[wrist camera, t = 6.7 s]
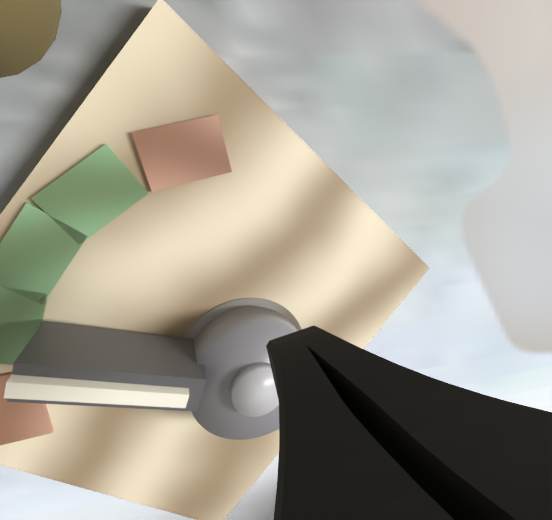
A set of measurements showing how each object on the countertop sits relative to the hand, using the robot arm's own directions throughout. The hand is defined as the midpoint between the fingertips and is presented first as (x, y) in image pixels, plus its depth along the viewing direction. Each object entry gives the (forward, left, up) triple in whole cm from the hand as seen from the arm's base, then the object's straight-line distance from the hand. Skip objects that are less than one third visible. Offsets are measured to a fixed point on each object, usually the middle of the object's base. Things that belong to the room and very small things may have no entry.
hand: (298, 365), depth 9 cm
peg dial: (-1, +5, -8) cm, 9 cm away
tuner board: (0, +4, -9) cm, 10 cm away
